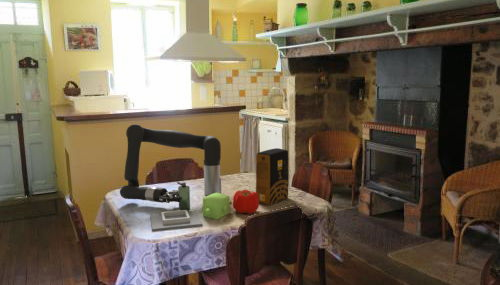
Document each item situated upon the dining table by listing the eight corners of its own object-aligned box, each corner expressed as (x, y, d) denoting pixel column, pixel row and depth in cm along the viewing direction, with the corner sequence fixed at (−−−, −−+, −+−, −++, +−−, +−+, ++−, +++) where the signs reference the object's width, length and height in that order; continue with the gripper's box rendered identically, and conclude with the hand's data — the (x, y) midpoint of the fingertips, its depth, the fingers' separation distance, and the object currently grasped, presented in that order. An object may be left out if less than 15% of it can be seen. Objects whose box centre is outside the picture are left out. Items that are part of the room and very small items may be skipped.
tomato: (228, 210, 204) (227, 190, 202) (251, 206, 210) (250, 186, 209) (240, 218, 192) (240, 196, 190) (264, 213, 198) (264, 192, 197)
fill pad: (195, 212, 201) (195, 206, 201) (202, 225, 182) (202, 219, 182) (150, 216, 195) (150, 210, 195) (152, 231, 176) (152, 224, 176)
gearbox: (213, 224, 186) (213, 204, 184) (196, 219, 191) (196, 200, 190) (235, 212, 201) (235, 194, 199) (219, 208, 206) (219, 190, 205)
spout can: (189, 207, 208) (188, 179, 206) (190, 211, 203) (190, 182, 200) (177, 208, 206) (176, 180, 204) (178, 212, 201) (177, 183, 199)
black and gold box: (290, 197, 225) (290, 148, 220) (270, 206, 210) (270, 153, 205) (274, 194, 231) (274, 146, 227) (253, 202, 216) (253, 151, 212)
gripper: (148, 191, 202) (176, 194, 196) (163, 184, 215) (190, 186, 210) (148, 205, 203) (177, 208, 198) (164, 197, 216) (191, 200, 211)
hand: (184, 197), depth 204 cm, fingers open, 8 cm apart
